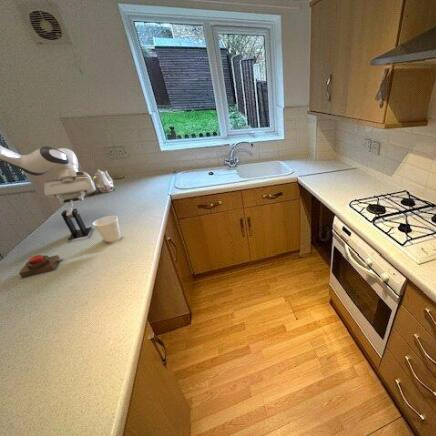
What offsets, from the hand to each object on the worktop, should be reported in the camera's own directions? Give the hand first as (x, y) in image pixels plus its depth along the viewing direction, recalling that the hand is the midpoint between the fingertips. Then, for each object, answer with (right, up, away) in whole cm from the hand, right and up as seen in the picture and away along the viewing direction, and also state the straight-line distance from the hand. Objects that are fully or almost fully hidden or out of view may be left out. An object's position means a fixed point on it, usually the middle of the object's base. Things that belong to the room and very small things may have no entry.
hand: (72, 201), depth 122 cm
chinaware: (-29, +12, +57) cm, 66 cm away
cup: (+25, -20, -4) cm, 32 cm away
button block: (+8, -29, -22) cm, 38 cm away
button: (+8, -26, -24) cm, 36 cm away
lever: (+2, -4, -2) cm, 5 cm away
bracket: (+4, -17, +1) cm, 18 cm away
